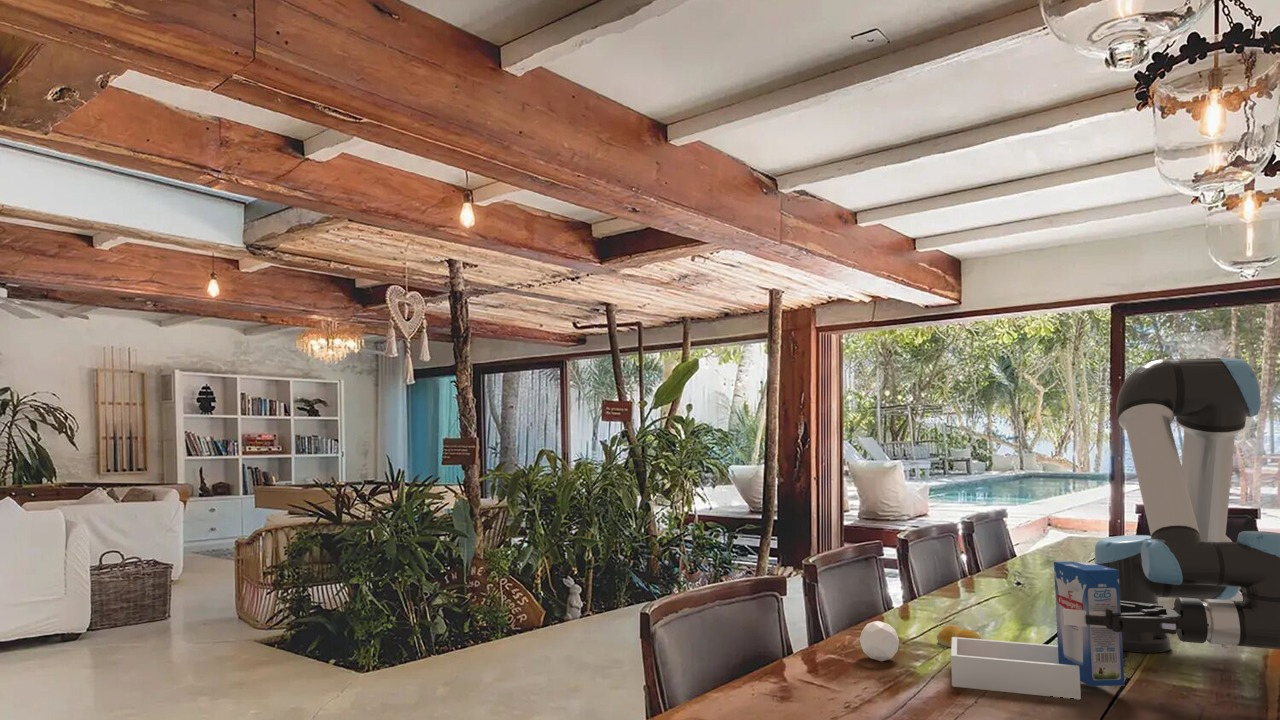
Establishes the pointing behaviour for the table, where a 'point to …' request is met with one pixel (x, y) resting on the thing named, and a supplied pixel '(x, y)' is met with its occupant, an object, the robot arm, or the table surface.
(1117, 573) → the milk carton
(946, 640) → the bread roll
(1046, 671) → the plastic channel
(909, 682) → the table surface
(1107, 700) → the table surface
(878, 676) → the table surface
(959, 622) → the table surface
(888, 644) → the geometric ball
